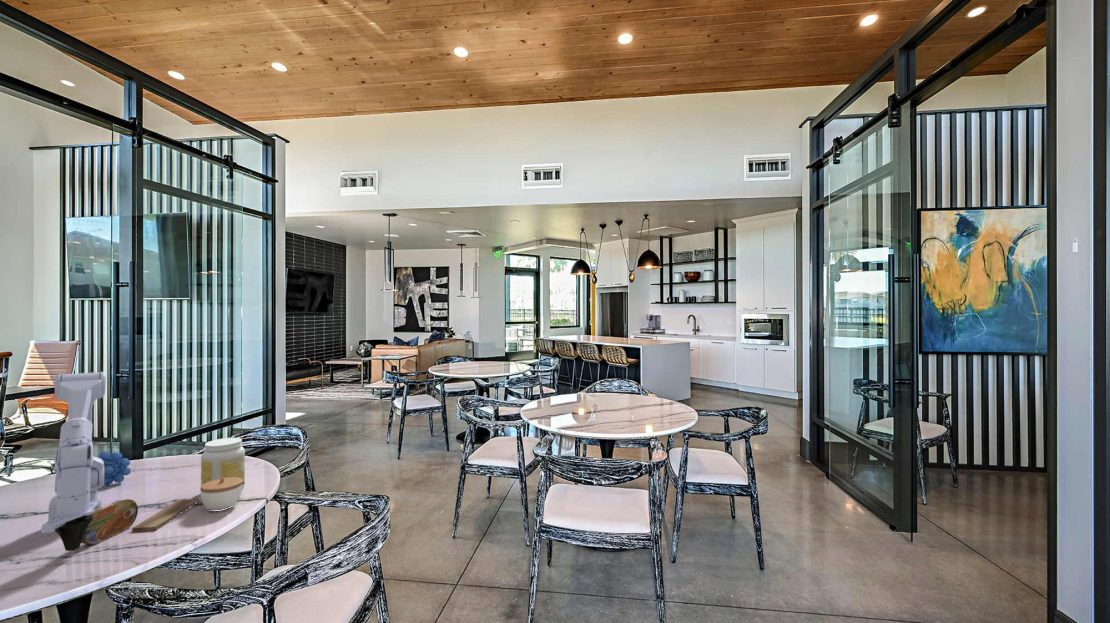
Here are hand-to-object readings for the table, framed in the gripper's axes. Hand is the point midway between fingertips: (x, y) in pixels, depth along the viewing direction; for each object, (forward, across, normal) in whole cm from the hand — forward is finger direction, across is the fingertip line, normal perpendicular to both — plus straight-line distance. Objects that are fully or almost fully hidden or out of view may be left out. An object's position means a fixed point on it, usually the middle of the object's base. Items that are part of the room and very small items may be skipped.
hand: (72, 549), depth 115 cm
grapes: (+2, +53, +29) cm, 60 cm away
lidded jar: (+2, +27, -20) cm, 34 cm away
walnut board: (+2, +23, -8) cm, 24 cm away
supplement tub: (+2, +42, -13) cm, 44 cm away
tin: (+2, +11, 0) cm, 11 cm away
